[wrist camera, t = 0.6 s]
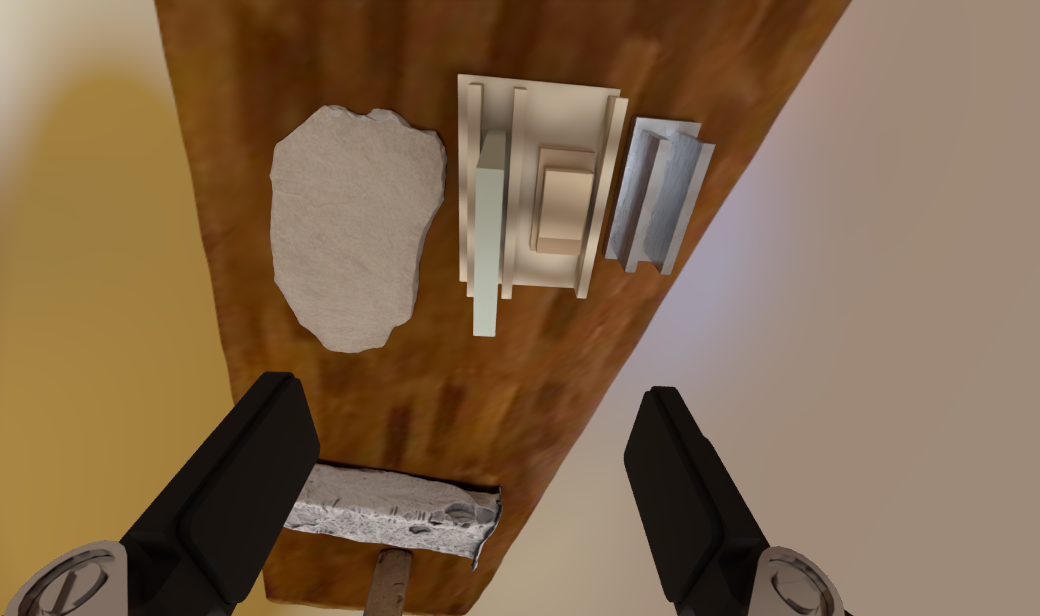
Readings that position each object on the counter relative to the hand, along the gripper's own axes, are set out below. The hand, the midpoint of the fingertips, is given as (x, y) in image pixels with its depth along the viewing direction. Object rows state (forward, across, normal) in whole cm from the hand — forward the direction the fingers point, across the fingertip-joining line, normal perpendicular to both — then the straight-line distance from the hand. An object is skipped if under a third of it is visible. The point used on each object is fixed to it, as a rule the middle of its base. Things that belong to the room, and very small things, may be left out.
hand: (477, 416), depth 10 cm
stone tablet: (+32, +16, +8) cm, 37 cm away
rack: (+32, -3, +1) cm, 32 cm away
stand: (+31, -15, 0) cm, 35 cm away
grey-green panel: (+30, 0, +1) cm, 30 cm away
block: (+35, +19, +84) cm, 93 cm away
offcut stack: (+30, -6, +2) cm, 31 cm away
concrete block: (+35, +17, +57) cm, 69 cm away
